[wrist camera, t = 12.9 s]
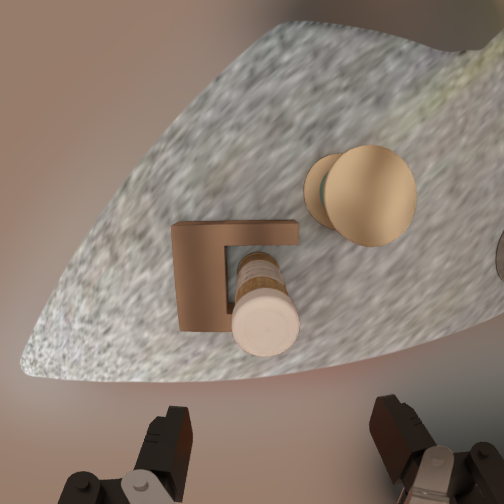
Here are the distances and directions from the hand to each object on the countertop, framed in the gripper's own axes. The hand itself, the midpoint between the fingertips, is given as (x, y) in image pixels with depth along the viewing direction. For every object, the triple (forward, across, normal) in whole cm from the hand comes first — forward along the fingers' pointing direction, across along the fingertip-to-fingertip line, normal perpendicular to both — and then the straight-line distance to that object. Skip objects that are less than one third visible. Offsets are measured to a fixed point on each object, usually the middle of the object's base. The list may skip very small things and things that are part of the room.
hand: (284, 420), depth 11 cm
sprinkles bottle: (+22, 0, 0) cm, 22 cm away
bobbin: (+22, -8, -8) cm, 25 cm away
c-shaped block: (+22, +3, 0) cm, 22 cm away
